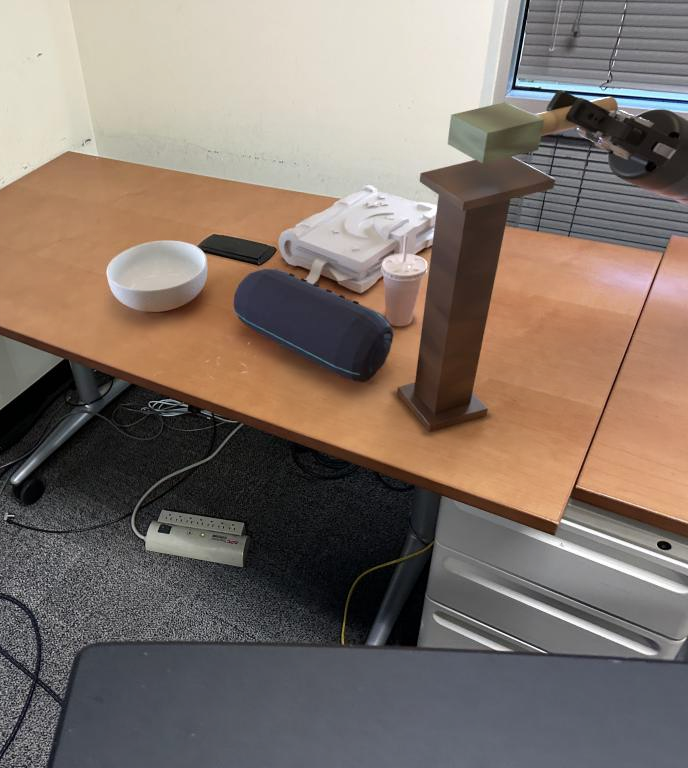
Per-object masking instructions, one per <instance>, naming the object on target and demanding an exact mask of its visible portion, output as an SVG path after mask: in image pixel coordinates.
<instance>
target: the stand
mask: <svg viewBox="0 0 688 768" xmlns="http://www.w3.org/2000/svg"><path fill="white" fill-rule="evenodd" d="M419 183H421V184H422V185H423V186H425V187H426V188H428V189H429V190H431V191H433V192H434V193H435V194H437V195H438V197H437V204H436V205H437V212H436V220H435V228H434V236H433V244H432V245H431V251H430V252H431V253H430V260H429V269H428V276H427V283H426V284H427V285H426V292H425V301H424V308H423V317H422V323H421V331H420V340H419V348H418V357H417V362H416V363H417V364H416V371H415V380H414V382H412V383H408V384H404V385H401V386H398V387H397V390H396V391H397V392H396V395H397V396H398V397H399V398H400V400H402V402H404V404H405V405H406V407H408V409H409V410H410V411H411V412H412V414H413V415H414V416H415V417H416V418H417V419H418V420H419V422H420V423H421V424H422V426H424V428H425V429H426V430H427V431H428V432H429V433H431V432H434V431H438V430H441V429H444V428H447V427H451V426H454V425H458V424H461V423H464V422H467V421H472V420H475V419H478V418H482V417H484V416H487V413H488V410H489V408H488V407H487V406H486V405H485V404H484V402H482V401H481V399H479V397H477V396H476V395H475V394H474V393H473V392H474V387H475V382H476V377H477V371H478V366H479V361H480V357H481V351H482V346H483V342H484V336H485V331H486V326H487V321H488V316H489V311H490V306H491V301H492V295H493V290H494V285H495V280H496V275H497V271H498V265H499V261H500V255H501V251H502V245H503V240H504V237H505V236H504V235H505V230H506V224H507V219H508V214H509V210H510V205H511V201H512V200H513V199H516V198H522V197H526V196H529V195H533V194H537V193H540V192H541V193H542V192H545V191H548V190H553V189H554V187H555V183H556V178H554V177H552V176H550V175H548V174H546V173H544V172H542V171H541V170H539V169H537V168H535V167H533V166H531V165H529V164H527V163H525V162H523V161H522V160H519V159H518V158H516V157H515V156H512V157H508V158H504V159H500V160H496V161H492V162H488V163H484V164H482V163H480V162H479V161H477V160H475V159H472V160H469V161H464V162H460V163H456V164H453V165H449V166H444V167H440V168H436V169H435V168H434V169H431V170H427V171H424V172H420V174H419Z"/></svg>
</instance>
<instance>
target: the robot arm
mask: <svg viewBox="0 0 688 768" xmlns="http://www.w3.org/2000/svg"><path fill="white" fill-rule="evenodd" d="M590 101H591V100H588V99H586V98H584V97H578V96H575V95H572V94H571V93H569V92H567V91H564V90H562V89H559V90H557V91H556V92H555V94H554V95H553V96H552V98H551V100H550V101H549V103H548V104H547V106H546V112H547V111H551V110H555V109H560V108H564V107H568V106H572V105H573V106H572V107H571V109H570V110H569V112H568V113H567V115H566V120H568V121H570V122H572V123H574V124H576V125H578V126H580V127H577V128H573V129H572V130H574V131H576V130H577V134H578V135H579V136H580V137H582V138H584V139H586V140H588V141H590V142H593V143H594V145H595V147H597V148H598V149H599V148H600V149H601V150H603V151H606V152H608V153H607V162H608V167H609V169H610V171H611V172H612V173H613V174H614V176H615V177H617V178H619V179H621V180H622V181H625V182H627V183H629V184H632V185H634V186H636V187H639V188H640V189H642V190H644V191H647V192H649V193H651V194H654V195H657V196H660V197H664V198H668V199H671V200H673V201H675V202H677V203H679V204H681V205H684V206H686V207H688V119H686V118H685V117H683V116H681V115H679V114H677V113H676V112H674V111H672V110H669V109H665V108H654V109H648V110H646V111H643V112H641V113H638V114H636V115H633V114H632V113H630V112H626V111H624V110H621V109H620V110H619V109H618V110H617V111H614V110H612V111H610V110H605V109H604V108H602V107H600V106H598V105H596V104H594V103H592V102H590Z"/></svg>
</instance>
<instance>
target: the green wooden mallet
mask: <svg viewBox="0 0 688 768" xmlns="http://www.w3.org/2000/svg"><path fill="white" fill-rule="evenodd" d="M589 101H590V102H592V103H594V104H596V105H598V106H600V107H602V108H604V109H605V110H610V111H612V110H614V111H618V110H619V109H618V107H619V106H618V102H617V100H616V98H614V97H613V96H606V97H602V98H597V99H593V100H589ZM572 106H573V105H572ZM572 106H568V107H564V108H560V109H555V110H551V111H547V110H546V111H543V112H539V113H534V114H533V113H531V112H529V111H527V110H524V109H522V108H519V107H517V106H515V105H512V104H510V103H508V102H505V101H503V102H499V103H495V104H491V105H487V106H482V107H478V108H474V109H470V110H465V111H461V112H457V113H456V112H455V113H453V114H451V115H450V119H449V120H450V122H449V128H448V129H449V130H448V138H447V145H448V146H451V148H453V149H456V150H457V151H459V152H461V153H462V154H465V155H466V156H468V157H470V158H472V160H477V161H479V162H480V163H482V164H484V163H488V162H492V161H496V160H500V159H504V158H508V157H516V156H521V155H524V154H529V153H532V152H536V151H539V148H540V144H541V139H542V137H545V136H548V135H552V134H556V133H561V132H564V131H569V130H574V129H573V128H577V127H580V126H578V125H576V124H574V123H572V122H570V121H568V120H566V115H567V113H568V112H569V110H570V109H571V107H572Z"/></svg>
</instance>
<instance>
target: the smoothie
mask: <svg viewBox="0 0 688 768" xmlns="http://www.w3.org/2000/svg"><path fill="white" fill-rule="evenodd" d="M408 236H409V235H408V234H405V235H404V245H403V253H402V254H395V255H391V256H389V257H387V258H385V259H384V260H383V262H382V267H381V272H382V274H383V288H384V289H383V290H384V303H385V305H384V306H385V318H386V319H387V321H388V322H389V324H390V326H394V327H404V326H408V325H410V324H411V322H412V320H413V317H414V314H415V310H416V306H417V302H418V298H419V295H420V291H421V287H422V284H423V280H424V277H425V276H426V275H427V273H428V261H426V259H425V258H423V257H422V256H420V255H416V254H407V246H408Z"/></svg>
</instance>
